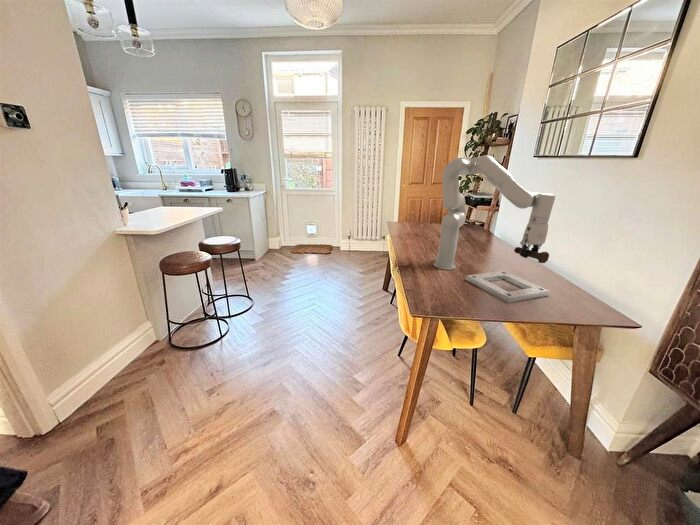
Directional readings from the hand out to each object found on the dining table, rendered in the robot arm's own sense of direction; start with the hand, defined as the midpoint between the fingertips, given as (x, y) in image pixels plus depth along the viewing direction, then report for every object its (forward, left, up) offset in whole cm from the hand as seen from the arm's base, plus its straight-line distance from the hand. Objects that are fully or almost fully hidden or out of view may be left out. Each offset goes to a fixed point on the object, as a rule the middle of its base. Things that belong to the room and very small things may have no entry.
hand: (528, 256), depth 134 cm
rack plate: (0, -10, -16) cm, 19 cm away
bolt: (0, 0, -1) cm, 1 cm away
